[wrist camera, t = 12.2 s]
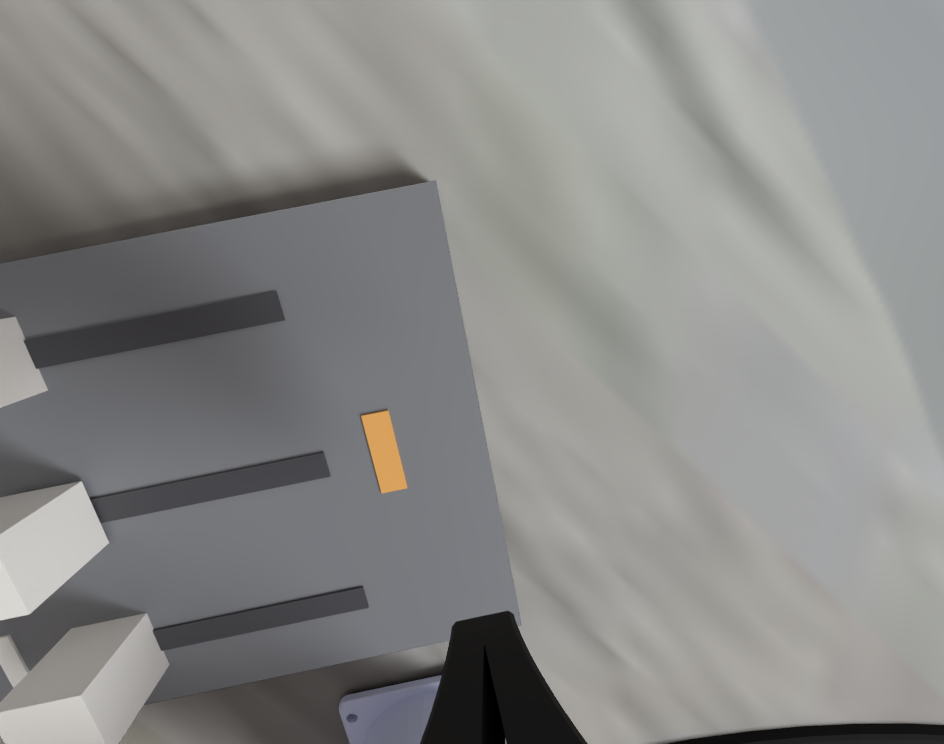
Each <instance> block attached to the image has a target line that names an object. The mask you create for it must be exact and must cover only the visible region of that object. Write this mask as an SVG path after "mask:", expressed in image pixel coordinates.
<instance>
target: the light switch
mask: <svg viewBox="0 0 944 744" xmlns="http://www.w3.org/2000/svg"><path fill="white" fill-rule="evenodd" d="M669 744H944V725H923V724H847V725H826V726H805V727H794V728H783V729H772V730H761V731H751V732H743V733H736V734H728V735H721V736H713V737H706V738H698V739H691V740H686V741H680V742H674V743H669Z"/></svg>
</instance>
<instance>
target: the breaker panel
mask: <svg viewBox="0 0 944 744" xmlns="http://www.w3.org/2000/svg"><path fill="white" fill-rule="evenodd" d="M79 481H82V483H83V485H84V487H85V490H86V492H87V494H88V496H89V499H90V501H91V503H92V505H93V508H94V510H95V512H96V514H97V517H98V519H99V521H100V523H101V526H102V528H103V530H104V532H105V534H106V537H107V539H108V541H109V544H107V545H106V546H105V547H104V548H103V549H102V550H101V551H100V552H99V553H97V554H96V555H95V556H94V557H93V558H92V559H91V560H90V561H88V562H87V563H86V564H85V565H84V566H83V567H82V568H81V569H80V570H78V571H77V572H76V573H75V574H74V575H73V576H72V577H71V578H70V579H68V580H67V581H66V582H65V583H64V584H63V585H62V586H61V587H60V588H58V589H57V590H56V591H55V592H54V593H53V594H52V595H51V596H49V597H48V598H47V599H46V600H45V601H44V602H43V603H42V604H41V605H39V606H38V607H37V608H36V609H35V610H34V611H33V612H32V613H31V614H29V615H25V616H20V617H15V618H10V619H5V620H0V736H1V738H2V740H3V741H4V743H5V744H119V742H120V741H121V739H122V738H123V736H124V735H125V733H126V732H127V730H128V728H129V727H130V725H131V724H132V722H133V721H134V719H135V718H136V716H137V714H138V713H139V711H140V710H141V708H142V707H143V705H146V704H151V703H155V702H160V701H165V700H170V699H174V698H179V697H184V696H189V695H193V694H198V693H203V692H208V691H212V690H217V689H222V688H227V687H231V686H236V685H241V684H246V683H250V682H255V681H260V680H265V679H269V678H274V677H279V676H284V675H288V674H293V673H298V672H303V671H307V670H312V669H317V668H322V667H327V666H331V665H336V664H341V663H346V662H350V661H355V660H360V659H365V658H369V657H374V656H379V655H384V654H388V653H393V652H398V651H403V650H407V649H412V648H417V647H422V646H426V645H431V644H436V643H441V642H445V641H450V636H451V629H452V626H453V624H454V623H455V622H456V621H461V620H466V619H470V618H475V617H480V616H485V615H489V614H494V613H499V612H504V611H510V612H511V613H513V614H514V617H515V620H516V623H517V626H521V625H522V624H521V619H520V614H519V609H518V603H517V598H516V593H515V588H514V583H513V578H512V572H511V567H510V562H509V557H508V552H507V547H506V541H505V536H504V531H503V526H502V521H501V515H500V510H499V505H498V500H497V495H496V490H495V484H494V479H493V474H492V469H491V464H490V459H489V453H488V448H487V443H486V438H485V433H484V427H483V422H482V417H481V412H480V407H479V402H478V396H477V391H476V386H475V381H474V376H473V371H472V365H471V360H470V355H469V350H468V345H467V339H466V334H465V329H464V324H463V319H462V314H461V308H460V303H459V298H458V293H457V288H456V283H455V277H454V272H453V267H452V262H451V257H450V251H449V246H448V241H447V236H446V231H445V226H444V220H443V215H442V210H441V205H440V200H439V195H438V189H437V184H436V180H435V181H430V182H424V183H419V184H414V185H409V186H403V187H398V188H393V189H388V190H382V191H377V192H372V193H367V194H362V195H356V196H351V197H346V198H341V199H335V200H330V201H325V202H320V203H314V204H309V205H304V206H299V207H293V208H288V209H283V210H278V211H272V212H267V213H262V214H257V215H251V216H246V217H241V218H236V219H230V220H225V221H220V222H215V223H209V224H204V225H199V226H194V227H189V228H183V229H178V230H173V231H168V232H162V233H157V234H152V235H147V236H141V237H136V238H131V239H126V240H120V241H115V242H110V243H105V244H99V245H94V246H89V247H84V248H78V249H73V250H68V251H63V252H57V253H52V254H47V255H42V256H36V257H31V258H26V259H21V260H16V261H10V262H5V263H0V497H4V496H9V495H14V494H19V493H24V492H29V491H34V490H39V489H44V488H49V487H54V486H59V485H64V484H69V483H74V482H79Z"/></svg>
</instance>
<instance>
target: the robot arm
mask: <svg viewBox="0 0 944 744" xmlns="http://www.w3.org/2000/svg"><path fill="white" fill-rule="evenodd" d="M339 713H340V716H341V719H342V722H343V725H344V728H345V731H346V734H347V737H348V740H349V743H350V744H587V742H586V741H585V740H584V738H583V737H582V735H581V734H580V733H579V731H578V730H577V729H576V727H575V726H574V724H573V723H572V721H571V720H570V718H569V717H568V715H567V714H566V713H565V711H564V710H563V708H562V707H561V705H560V704H559V702H558V700H557V699H556V697H555V696H554V694H553V693H552V691H551V689H550V688H549V686H548V684H547V683H546V681H545V679H544V678H543V676H542V674H541V673H540V671H539V669H538V667H537V666H536V664H535V662H534V660H533V658H532V656H531V654H530V652H529V650H528V649H527V647H526V645H525V642H524V640H523V638H522V636H521V634H520V631H519V629H518V626H517V623H516V620H515V617H514V614H513V613H511V612H510V611H504V612H499V613H494V614H489V615H485V616H480V617H475V618H470V619H466V620H461V621H456V622H455V623H454V624H453V626H452V629H451V636H450V642H449V647H448V652H447V656H446V661H445V665H444V668H443V672H442V675H439V676H434V677H430V678H425V679H420V680H415V681H411V682H406V683H401V684H397V685H392V686H387V687H382V688H378V689H373V690H368V691H364V692H359V693H354V694H349V695H346V696H344V697H343V698H342V699H341V701H340V704H339ZM352 714H355V715H352Z"/></svg>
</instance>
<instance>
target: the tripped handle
mask: <svg viewBox="0 0 944 744" xmlns="http://www.w3.org/2000/svg"><path fill="white" fill-rule="evenodd" d="M107 544H109V541H108V539H107V537H106V534H105V532H104V530H103V528H102V526H101V523H100V521H99V519H98V517H97V514H96V512H95V510H94V508H93V505H92V503H91V501H90V499H89V496H88V494H87V492H86V490H85V487H84V485H83V483H82V481H79V482H74V483H69V484H64V485H59V486H54V487H49V488H44V489H39V490H34V491H29V492H24V493H19V494H14V495H9V496H4V497H0V620H5V619H10V618H15V617H20V616H25V615H29V614H31V613H32V612H33V611H34V610H35V609H36V608H37V607H38V606H39V605H41V604H42V603H43V602H44V601H45V600H46V599H47V598H48V597H49V596H51V595H52V594H53V593H54V592H55V591H56V590H57V589H58V588H60V587H61V586H62V585H63V584H64V583H65V582H66V581H67V580H68V579H70V578H71V577H72V576H73V575H74V574H75V573H76V572H77V571H78V570H80V569H81V568H82V567H83V566H84V565H85V564H86V563H87V562H88V561H90V560H91V559H92V558H93V557H94V556H95V555H96V554H97V553H99V552H100V551H101V550H102V549H103V548H104V547H105V546H106V545H107Z"/></svg>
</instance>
